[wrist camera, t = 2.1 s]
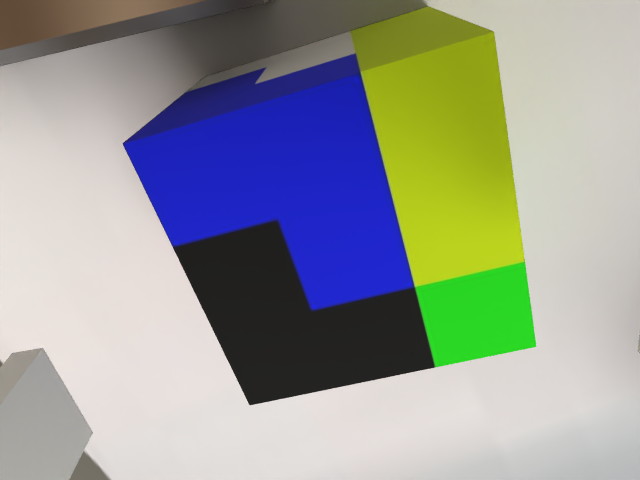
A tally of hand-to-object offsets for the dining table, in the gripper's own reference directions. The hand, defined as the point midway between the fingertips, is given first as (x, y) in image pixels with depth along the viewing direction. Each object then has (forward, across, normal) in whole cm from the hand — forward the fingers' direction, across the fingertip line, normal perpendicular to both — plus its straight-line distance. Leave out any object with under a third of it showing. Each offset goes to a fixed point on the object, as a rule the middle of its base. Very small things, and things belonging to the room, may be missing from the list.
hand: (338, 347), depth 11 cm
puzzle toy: (+15, 0, 0) cm, 15 cm away
